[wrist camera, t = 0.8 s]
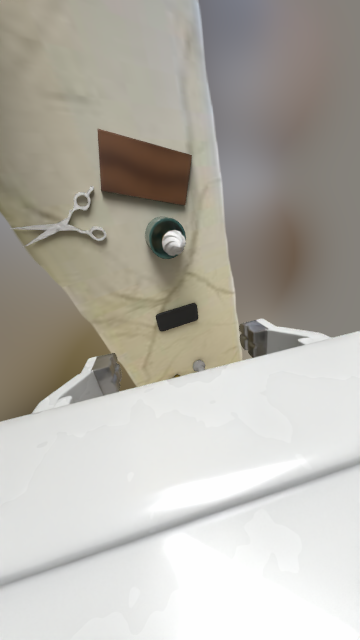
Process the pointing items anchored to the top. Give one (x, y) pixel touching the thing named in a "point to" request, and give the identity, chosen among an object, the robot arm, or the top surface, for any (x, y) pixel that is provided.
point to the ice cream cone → (173, 242)
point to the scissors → (64, 222)
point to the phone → (177, 317)
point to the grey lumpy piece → (199, 365)
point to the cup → (161, 234)
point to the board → (142, 169)
